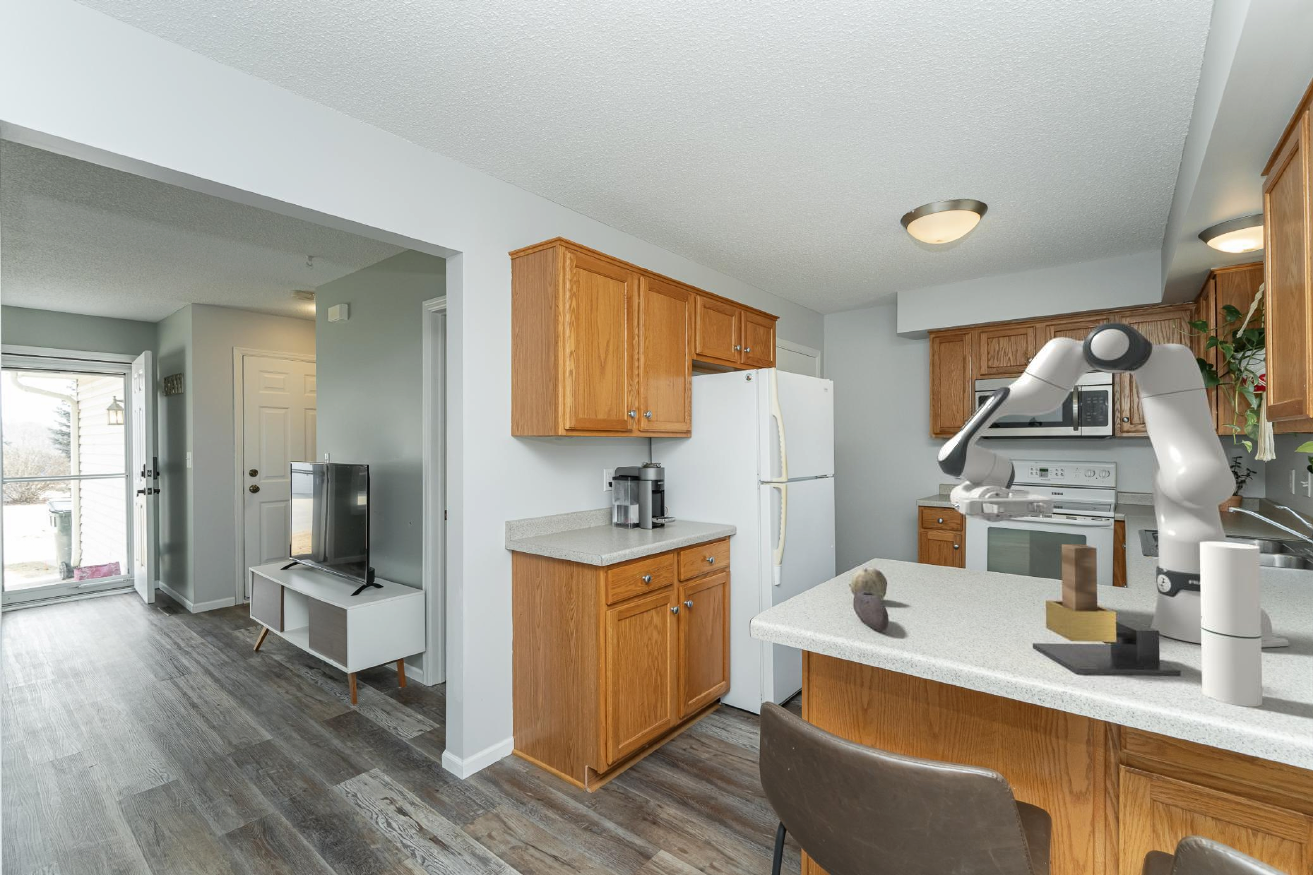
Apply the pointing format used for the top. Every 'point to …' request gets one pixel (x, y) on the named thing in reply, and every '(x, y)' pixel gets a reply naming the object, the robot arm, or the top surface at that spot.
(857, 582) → the garlic bulb
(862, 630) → the top surface
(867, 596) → the perforated stone tool
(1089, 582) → the rail post
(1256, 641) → the cylindrical container
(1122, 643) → the cup bracket
